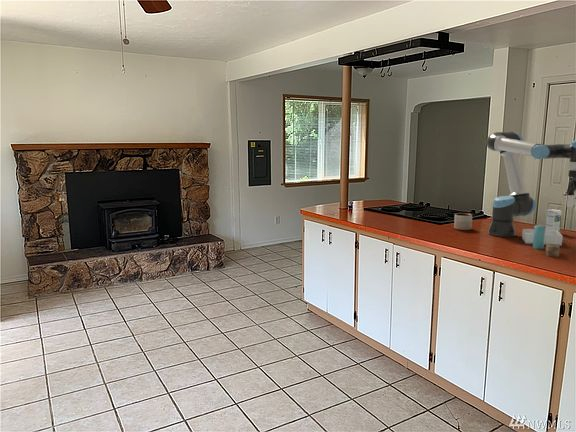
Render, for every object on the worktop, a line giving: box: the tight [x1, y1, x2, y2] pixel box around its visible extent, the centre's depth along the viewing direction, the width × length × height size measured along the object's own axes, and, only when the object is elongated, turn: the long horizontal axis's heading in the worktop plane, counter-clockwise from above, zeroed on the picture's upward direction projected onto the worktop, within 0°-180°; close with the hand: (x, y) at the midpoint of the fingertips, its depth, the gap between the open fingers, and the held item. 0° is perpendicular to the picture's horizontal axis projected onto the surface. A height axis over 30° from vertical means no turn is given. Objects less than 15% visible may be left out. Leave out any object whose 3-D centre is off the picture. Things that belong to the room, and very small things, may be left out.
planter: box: [453, 212, 473, 231], centre depth 285 cm, size 11×11×10 cm
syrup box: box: [545, 209, 563, 234], centre depth 267 cm, size 6×6×14 cm
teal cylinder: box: [532, 224, 546, 250], centre depth 233 cm, size 5×5×12 cm
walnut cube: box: [545, 244, 561, 258], centre depth 219 cm, size 5×5×5 cm
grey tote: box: [521, 228, 564, 247], centre depth 246 cm, size 18×14×6 cm
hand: (573, 209), depth 234 cm, fingers open, 13 cm apart
